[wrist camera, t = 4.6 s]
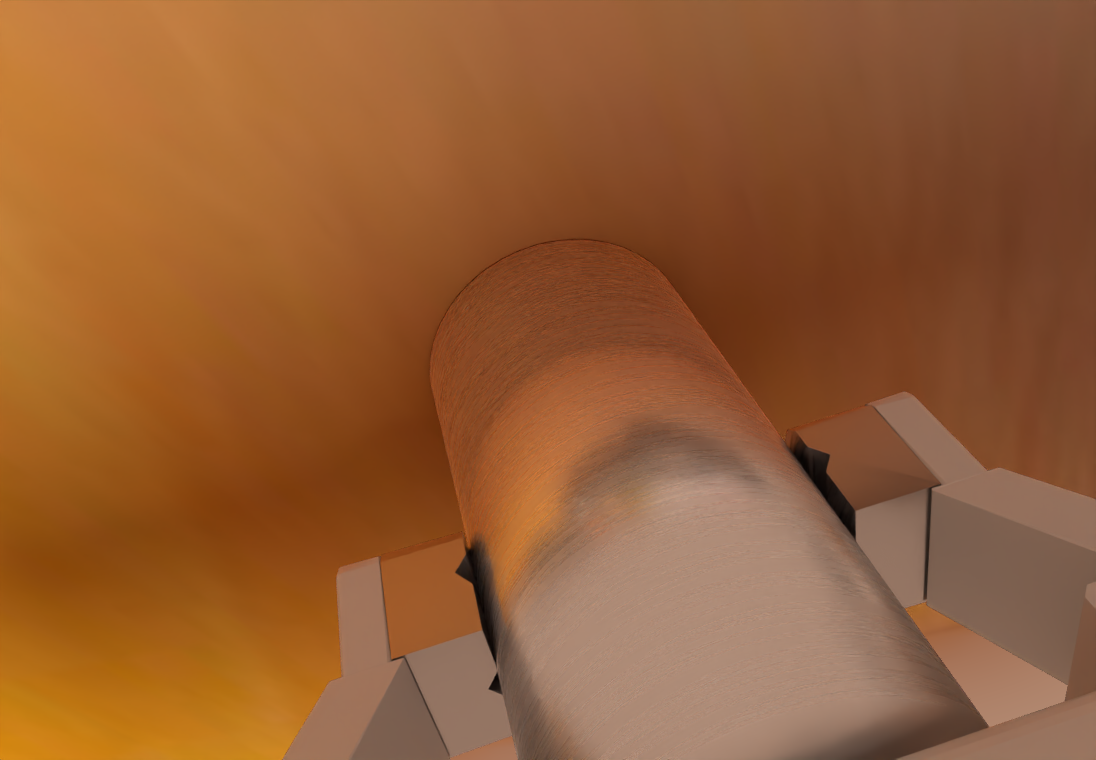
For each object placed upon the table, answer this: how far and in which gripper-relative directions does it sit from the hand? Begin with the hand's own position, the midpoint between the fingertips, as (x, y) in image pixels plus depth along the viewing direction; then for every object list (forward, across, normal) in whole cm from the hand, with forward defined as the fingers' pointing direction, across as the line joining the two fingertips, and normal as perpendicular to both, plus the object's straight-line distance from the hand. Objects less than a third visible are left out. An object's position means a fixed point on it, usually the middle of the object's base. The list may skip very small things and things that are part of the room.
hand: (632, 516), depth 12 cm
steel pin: (+4, 0, 0) cm, 4 cm away
